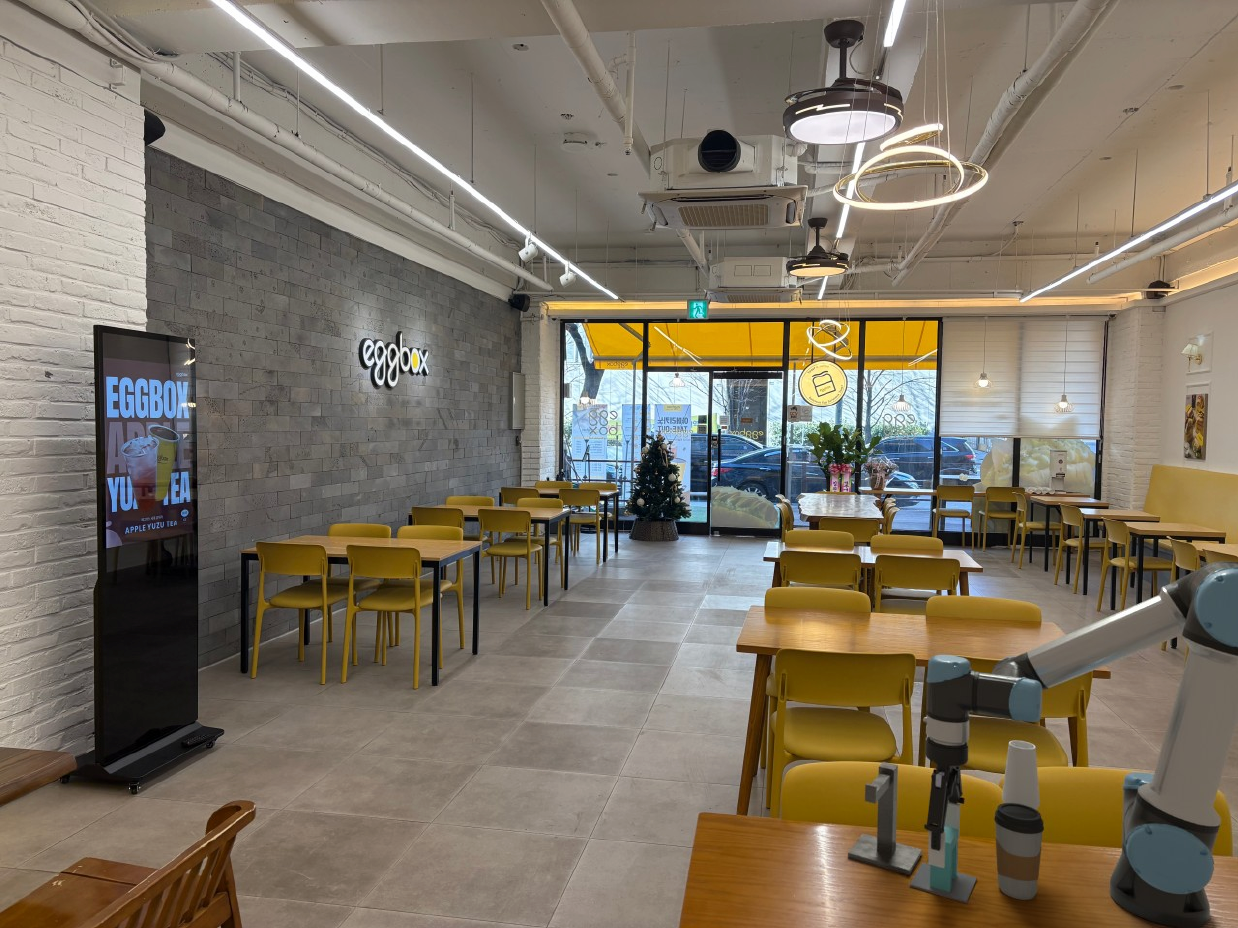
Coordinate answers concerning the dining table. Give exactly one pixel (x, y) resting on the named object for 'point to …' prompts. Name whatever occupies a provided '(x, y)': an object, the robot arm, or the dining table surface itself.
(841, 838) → the dining table surface
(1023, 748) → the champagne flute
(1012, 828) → the coffee cup
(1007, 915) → the dining table surface
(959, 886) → the mat
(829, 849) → the dining table surface
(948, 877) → the u-shaped block
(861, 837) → the stand
